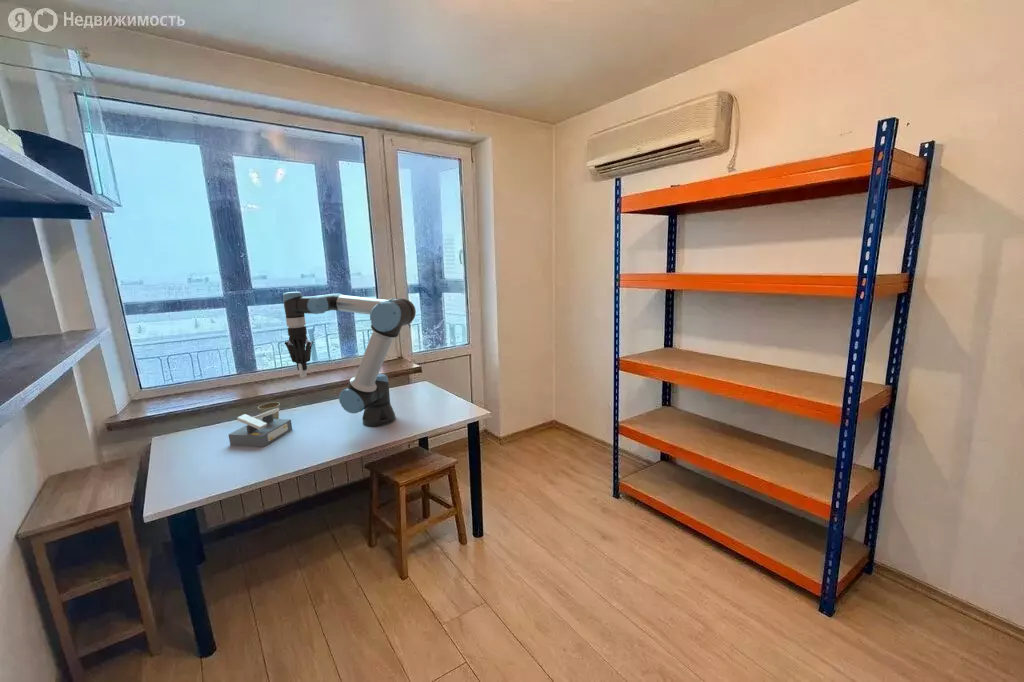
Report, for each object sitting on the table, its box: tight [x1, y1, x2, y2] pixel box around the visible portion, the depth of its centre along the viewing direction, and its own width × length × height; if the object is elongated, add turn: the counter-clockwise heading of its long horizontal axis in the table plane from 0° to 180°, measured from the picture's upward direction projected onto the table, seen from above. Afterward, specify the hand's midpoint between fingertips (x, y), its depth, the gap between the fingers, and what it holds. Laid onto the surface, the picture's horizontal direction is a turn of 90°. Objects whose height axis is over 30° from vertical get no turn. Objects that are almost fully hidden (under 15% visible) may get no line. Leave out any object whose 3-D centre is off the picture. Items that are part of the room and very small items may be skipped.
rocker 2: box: [252, 407, 281, 419], centre depth 186 cm, size 11×4×1 cm, turn 80°
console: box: [228, 414, 293, 448], centre depth 183 cm, size 16×18×8 cm
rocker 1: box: [236, 413, 267, 430], centre depth 177 cm, size 11×4×1 cm, turn 81°
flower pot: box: [257, 401, 281, 419], centre depth 200 cm, size 9×9×9 cm
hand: (303, 376), depth 189 cm, fingers closed
